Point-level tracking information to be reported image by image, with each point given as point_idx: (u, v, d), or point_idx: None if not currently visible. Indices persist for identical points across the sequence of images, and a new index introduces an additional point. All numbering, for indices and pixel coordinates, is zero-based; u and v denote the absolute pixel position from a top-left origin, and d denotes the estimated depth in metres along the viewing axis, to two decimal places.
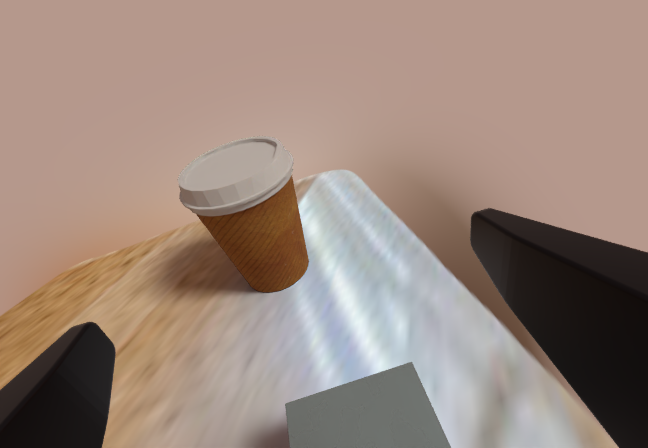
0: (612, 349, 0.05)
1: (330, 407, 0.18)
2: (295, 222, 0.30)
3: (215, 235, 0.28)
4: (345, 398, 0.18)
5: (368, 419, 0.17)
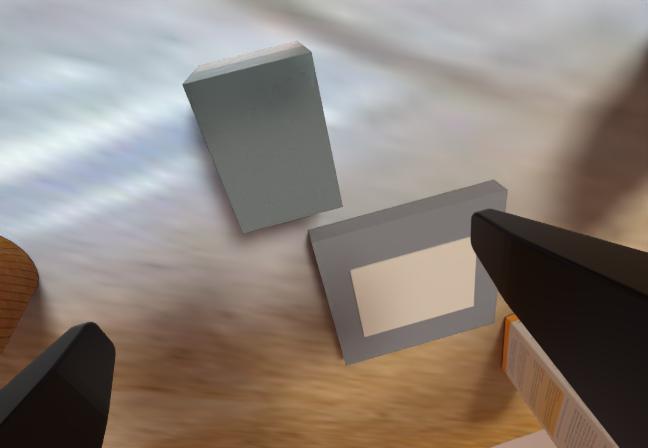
0: (612, 349, 0.05)
1: (247, 187, 0.16)
2: None
3: None
4: (237, 172, 0.15)
5: (259, 146, 0.15)
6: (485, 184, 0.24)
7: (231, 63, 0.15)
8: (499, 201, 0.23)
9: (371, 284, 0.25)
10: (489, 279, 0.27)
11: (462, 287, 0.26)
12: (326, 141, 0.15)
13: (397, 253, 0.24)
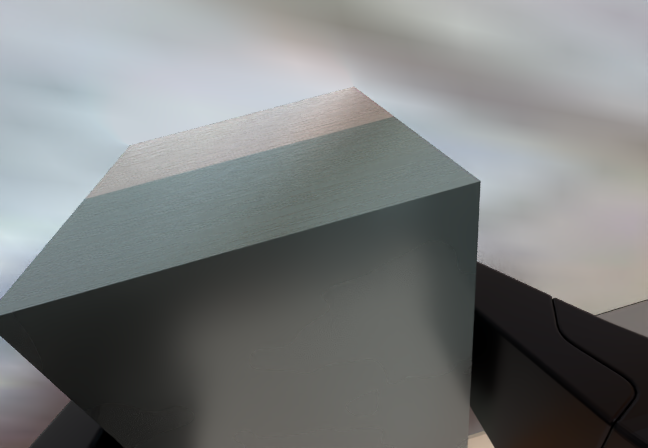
0: (496, 385, 0.05)
1: None
2: None
3: None
4: None
5: (281, 418, 0.05)
6: (645, 306, 0.14)
7: (196, 169, 0.05)
8: None
9: None
10: None
11: None
12: (462, 383, 0.06)
13: None
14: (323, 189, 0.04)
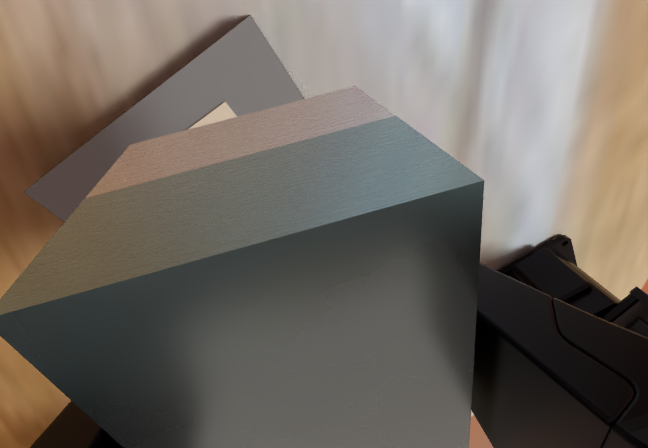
0: (495, 385, 0.05)
1: None
2: None
3: None
4: None
5: (281, 418, 0.05)
6: None
7: (197, 168, 0.05)
8: None
9: None
10: None
11: None
12: (464, 383, 0.06)
13: None
14: (325, 188, 0.04)
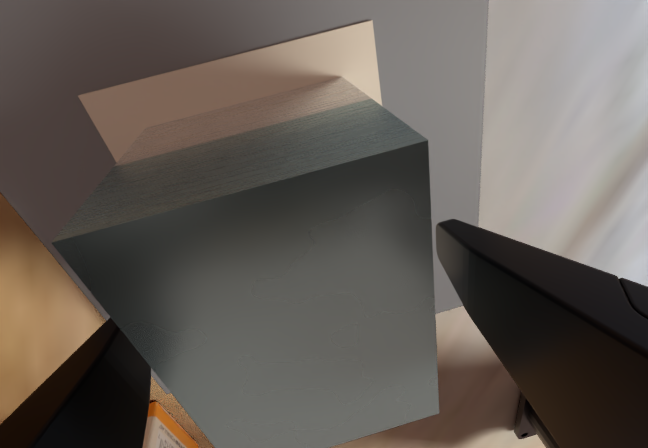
0: (559, 365, 0.05)
1: (245, 413, 0.07)
2: None
3: None
4: (221, 394, 0.07)
5: (276, 345, 0.06)
6: None
7: (206, 142, 0.07)
8: (457, 299, 0.14)
9: None
10: None
11: None
12: (428, 321, 0.07)
13: None
14: (309, 151, 0.05)
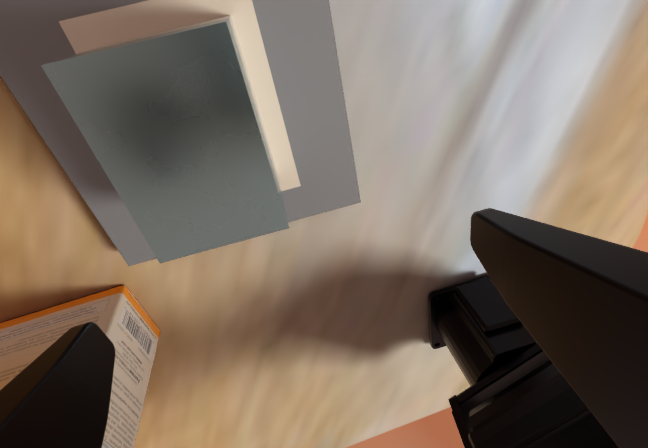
0: (612, 349, 0.05)
1: (157, 205, 0.12)
2: None
3: None
4: (140, 186, 0.11)
5: (168, 151, 0.11)
6: None
7: (131, 40, 0.11)
8: (346, 198, 0.19)
9: None
10: None
11: None
12: (259, 145, 0.12)
13: (277, 70, 0.15)
14: (175, 32, 0.10)
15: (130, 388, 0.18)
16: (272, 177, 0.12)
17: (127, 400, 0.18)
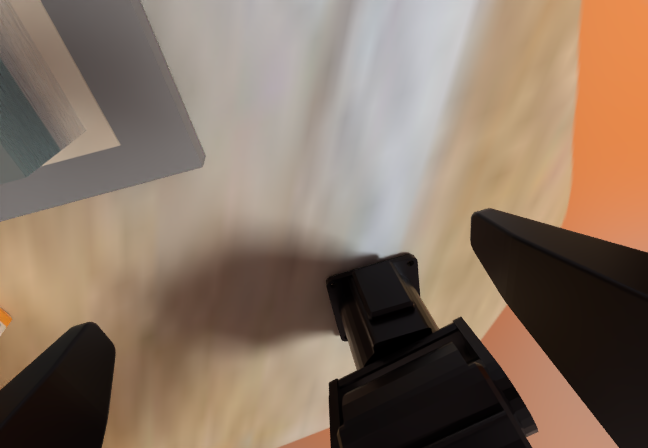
0: (612, 349, 0.05)
1: None
2: None
3: None
4: None
5: None
6: (199, 144, 0.18)
7: None
8: (183, 162, 0.17)
9: None
10: (35, 195, 0.16)
11: None
12: None
13: None
14: None
15: None
16: None
17: None
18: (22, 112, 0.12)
